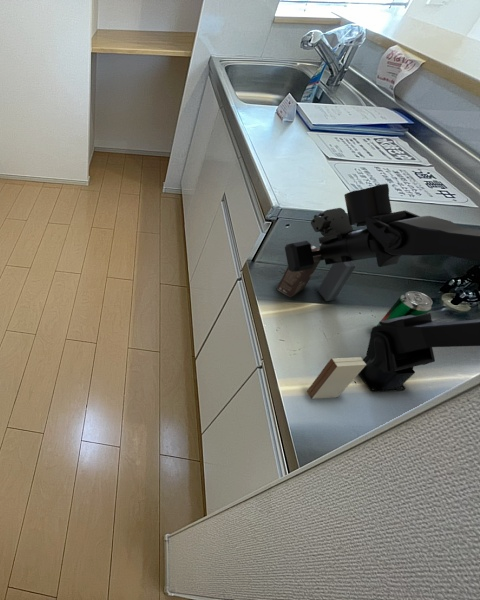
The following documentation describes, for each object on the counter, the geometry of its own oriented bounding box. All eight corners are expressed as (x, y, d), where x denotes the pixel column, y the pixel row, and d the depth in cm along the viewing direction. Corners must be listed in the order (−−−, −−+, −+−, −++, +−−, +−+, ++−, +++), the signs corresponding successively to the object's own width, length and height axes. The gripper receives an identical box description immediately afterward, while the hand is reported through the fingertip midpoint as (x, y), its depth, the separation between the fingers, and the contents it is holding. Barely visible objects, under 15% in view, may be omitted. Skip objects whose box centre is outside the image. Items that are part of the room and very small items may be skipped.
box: (291, 298, 87) (311, 261, 78) (275, 289, 89) (292, 251, 81) (306, 289, 89) (326, 251, 80) (290, 279, 92) (308, 242, 83)
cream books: (337, 397, 67) (366, 364, 60) (311, 398, 67) (336, 366, 60) (332, 389, 68) (360, 356, 61) (306, 391, 69) (331, 358, 61)
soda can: (374, 343, 76) (407, 305, 67) (369, 326, 79) (399, 288, 71) (402, 348, 74) (439, 309, 66) (395, 330, 78) (429, 292, 69)
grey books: (334, 300, 85) (356, 266, 78) (325, 301, 85) (346, 266, 78) (325, 289, 88) (345, 255, 80) (317, 290, 88) (337, 256, 81)
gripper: (393, 197, 69) (329, 217, 84) (308, 212, 67) (259, 229, 83) (403, 252, 69) (337, 261, 85) (319, 268, 67) (267, 275, 83)
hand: (300, 255), depth 84 cm, fingers closed on box, 7 cm apart
